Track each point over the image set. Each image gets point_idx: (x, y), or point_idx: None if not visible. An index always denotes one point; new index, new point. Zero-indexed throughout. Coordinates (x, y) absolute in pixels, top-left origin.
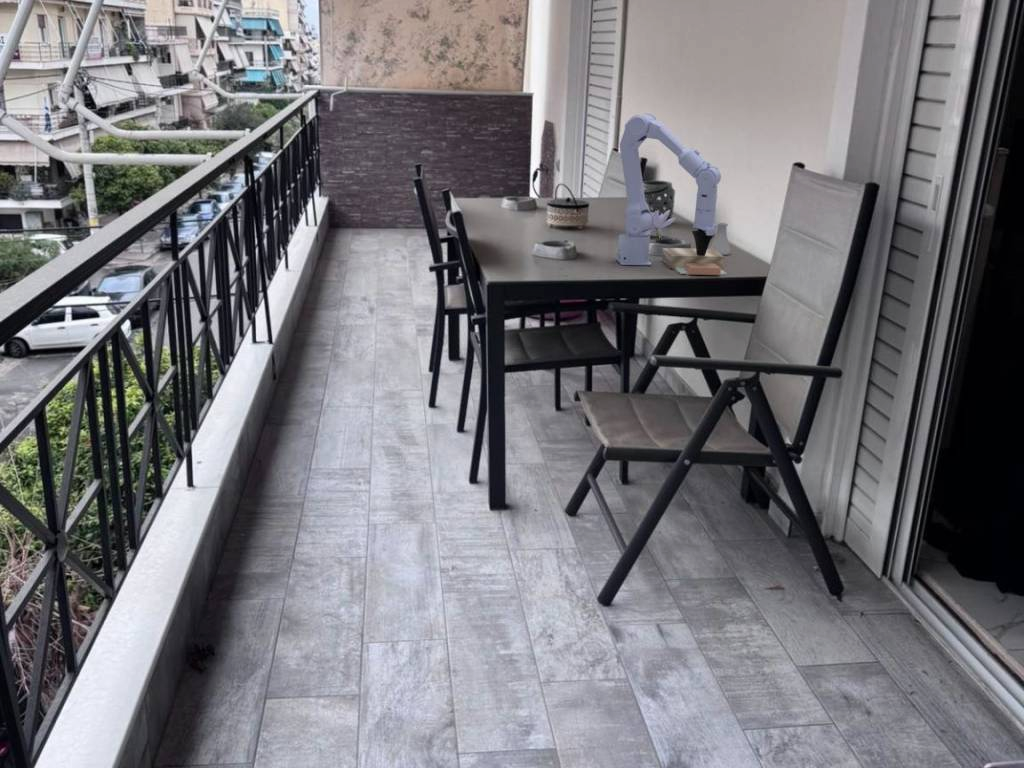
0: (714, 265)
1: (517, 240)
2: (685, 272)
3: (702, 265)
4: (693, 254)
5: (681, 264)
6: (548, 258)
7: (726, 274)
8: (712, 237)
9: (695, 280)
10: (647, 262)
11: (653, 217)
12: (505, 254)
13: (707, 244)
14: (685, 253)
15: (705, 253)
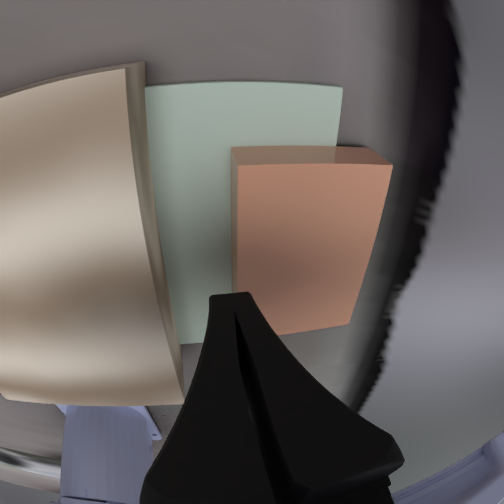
0: (311, 188)
1: (14, 473)
2: None
3: (304, 267)
4: (98, 321)
5: (174, 334)
6: None
7: (340, 90)
8: (372, 425)
9: (406, 279)
10: None
11: None
12: None
13: (301, 373)
14: (85, 354)
15: (253, 302)
